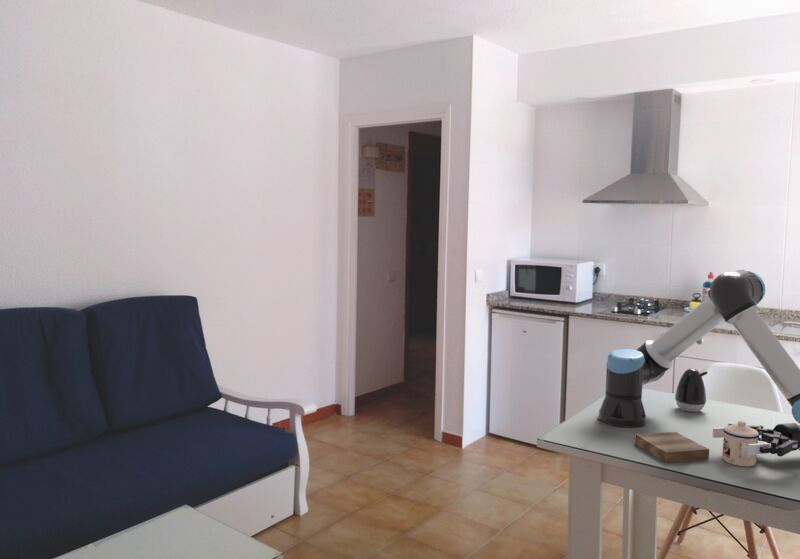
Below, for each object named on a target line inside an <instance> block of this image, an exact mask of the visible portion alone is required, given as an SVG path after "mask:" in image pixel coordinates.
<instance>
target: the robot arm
mask: <svg viewBox="0 0 800 559" xmlns="http://www.w3.org/2000/svg"><path fill="white" fill-rule="evenodd" d="M765 294H766V285H765V282H764V280H763V279H762V277H761V276H760V275H759V274H757V273H756V272H754V271H751V270H746V269H739V270H738V269H737V270H736V271H727V272H723V273H721V274H719V275H717V276H716V277H715V278H714V279H713V281H712V282H711V285H710V287H709V290H707V296H706V298H705V299H704V300H703V301H702V302H700V303H699V304H698V305H697V306H695V307H694V308H693V309H692V310H691V311H689V312H688V313H687V314H685V315H684V316H683V317H682V318H681V319H680V320H678V321H677V322H676V323H675V324H673V325H672V326H671V327H670V328H668V329H667V330H666V331H665V332H664V333H662V334H661V335H660V336H659V337H657V338H656V339H655V340H652V339H649V340H648V339H647V341H645V342H644V343H642V345H640V346H639V347H638V348H637V349H632V348H622V349H619V348H618V349H614V350H611V351H610V352H609V353H608V355H607V359H606V365H605V366H606V373H605V393H604V399H603V400H602V404H601V405H600V408H599V411H598V419H599V420H600V421H601V422H603V423H604V424H605V423H606V424H608V425H612V426H616V427H623V428H624V427H625V428H637V427H642V426H645V425H646V423H647V422H646V421H647V416H646V412H645V407H644V404H643V400H642V398H643V386H644V385H646V384H649V383H653V382H656V381H658V380H660V379H661V378H662V377H663V376H664V375H665V374H666V372H667V371H668V370H670V369H671V368H672V367H673V361H674V360H675V359H676V358H677V357H679V356H680V355H681V354H683V353H684V352H685V351H686V350H688V349H689V348H691V347H692V346H693V345H694V344H695V343H697V342H699V340H701V339H702V338H703V337H704V336H706V335H707V334H708V333H709V332H711V331H712V330H714V329H715V328H716V327H717V326H719V325H720V324H722V323H723V322H725V323H726V324H729V325H732V326H733V328H734V329H735V330H736V332H737V333H738V335H739V336H740V337H741V338H742V340H743V341H744V343H745V344H746V346H747V347H748V348H749V350H750V351H751V353H752V354H753V355H754V356H755V358H756V359H757V361H758V362H759V364H760V365H761V367H763V369H764V371H765V372H766V373H767V375H768V376H769V378H770V379H771V381H772V382H773V383H774V384H775V386H776V387H777V388H778V390H779V391H780V393H782V395H783V397H784V398H785V399H786V401H787V402H788V404H789V405H790V407H791V414H792V415H791V416H792V417H793V419H794V420H795V421H796V422H791V423H789V422H787V423H779V424H777V425H775V426H774V428H773V429H772V428H764V426H763V425H750V424H746V425H747V426H749V427H750V428H752V429H755V430H756V431H758V433H759V437H758V441H759V443H758V444H748V445H747V454H748V455H754V454H757V455H765V454H771V455H776V454H777V455H776V456H778V457H781V458H782V457H784V456H786V455H787V454H789V453H791V452H792V451H797V450H798V451H800V367H799V366H798V365H797V364H796V362H795V361H794V359H793V358H792V357H791V355H790V354H789V353H788V351H787V350H786V348H785V347H784V346H783V345H782V343H781V342H780V341H779V339H778V337H777V336H775V333H773V331H772V330H771V328H769V326H768V324H767V323H766V321H764V319H763V318H762V317H761V315H760V314H759V313H758V311H757V309H758V304H760V302H762V300H763V299H764V297H765ZM734 424H735V423H728V424H727V426H728V425H734ZM724 427H725V426H724ZM724 427H713V428H712V436H711V437H712V438H714V439H716V438H724V431H723V429H724Z"/></svg>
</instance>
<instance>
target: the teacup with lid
mask: <svg viewBox="0 0 800 559" xmlns="http://www.w3.org/2000/svg"><path fill="white" fill-rule="evenodd" d="M733 424H734V425H728V424H727V425H726V426H724V429H723V431H724V437H723V443H722V453H721V454H722V455H721V458H722V460H723V461H724V462H726V463H728V464H730V465H733V466H739V467H749V468H750V467H753V466H755V465H756V464H757V456H758V454H754V455H748V454H747V445H748V444H758V437H759V438H760V436H759V433H758V431H756V430H755V429H752V428H750V427H749V426H747V425H748V424H747V422H745V421H744V420H738V421H737V423H733Z"/></svg>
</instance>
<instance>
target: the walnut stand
mask: <svg viewBox="0 0 800 559" xmlns="http://www.w3.org/2000/svg"><path fill="white" fill-rule="evenodd" d="M634 444H635V445H636V446H637V447H639V448H641V449H642V450H644V451H645V452H647V453H649V454H651V455H652V456H654V457H655V456H656V457H655V458H656V459H659V460H661V462H664V463H665V464H667V463H668V464H669V463H677V462H678V463H680V462H692V461H705V460H706V461H707V460H709V459H710V458H709V457H710V448H708V447H706V446H705V445H702V444H700V443H698V442H696V441H694V440H693V439H691V438H688V437H687V436H685V435H683V434H681V433H679V432H677V431H669V432H654V433H639V434H638V433H637V434H635V440H634Z"/></svg>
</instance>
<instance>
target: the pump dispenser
mask: <svg viewBox="0 0 800 559" xmlns="http://www.w3.org/2000/svg"><path fill="white" fill-rule="evenodd" d="M706 375H708V371H706V370H705V371H702V372H699V371H698V369H695V368H687V369H685V371H684V372H683V373H682V375H681V377H680V379H679V381H678V383H677V386H676V391H675V394H674V400H675V403H676V405H677V407H678V409H680V410H682V411H683V412H686V413H698V412H701V411H702V410H703V409H704V407H705V406H706V405H705V404H706V403H707V393H706V392H707V391H706V387H705V383H704V379H703V377H704V376H706Z"/></svg>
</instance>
